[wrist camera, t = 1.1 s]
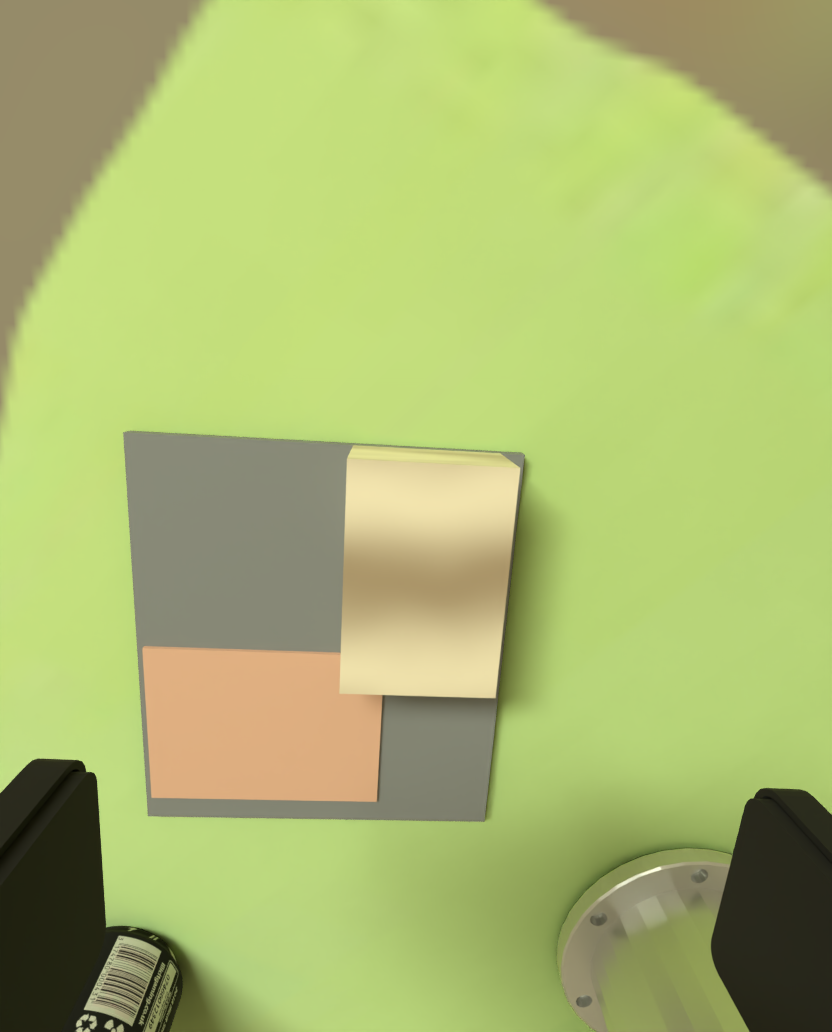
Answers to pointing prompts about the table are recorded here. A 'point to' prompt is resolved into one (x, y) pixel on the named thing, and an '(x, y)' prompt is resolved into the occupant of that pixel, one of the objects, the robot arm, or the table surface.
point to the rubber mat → (275, 646)
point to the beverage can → (129, 986)
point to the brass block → (425, 571)
